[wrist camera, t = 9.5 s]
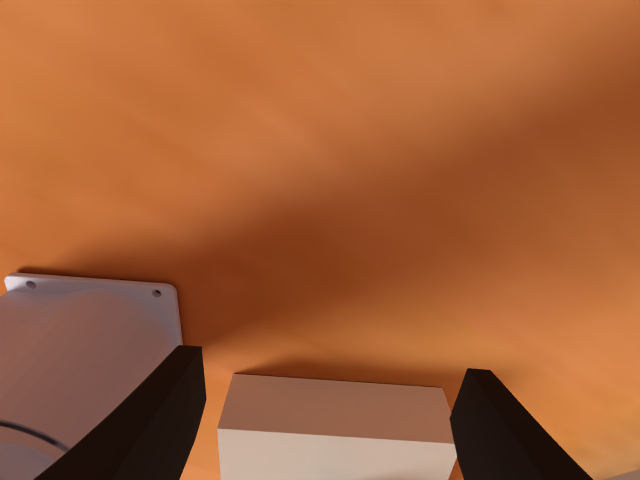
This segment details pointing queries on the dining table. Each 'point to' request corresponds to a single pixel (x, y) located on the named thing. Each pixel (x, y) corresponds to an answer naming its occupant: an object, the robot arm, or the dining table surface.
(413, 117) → the dining table surface
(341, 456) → the socket block
